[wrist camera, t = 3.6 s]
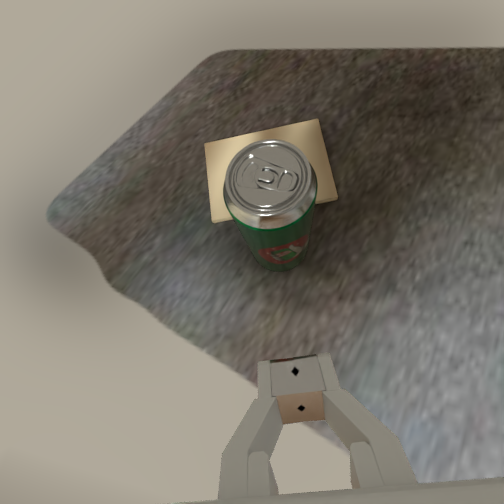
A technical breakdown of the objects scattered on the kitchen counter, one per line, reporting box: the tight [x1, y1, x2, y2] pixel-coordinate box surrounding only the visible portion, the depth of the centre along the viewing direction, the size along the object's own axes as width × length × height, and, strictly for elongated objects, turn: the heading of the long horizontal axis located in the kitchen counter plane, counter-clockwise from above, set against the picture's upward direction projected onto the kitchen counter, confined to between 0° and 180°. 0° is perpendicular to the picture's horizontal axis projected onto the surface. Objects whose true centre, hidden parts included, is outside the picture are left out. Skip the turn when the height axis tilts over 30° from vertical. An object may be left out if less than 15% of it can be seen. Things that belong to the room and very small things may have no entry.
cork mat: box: [205, 119, 338, 223], centre depth 26 cm, size 12×9×1 cm
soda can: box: [223, 139, 318, 272], centre depth 19 cm, size 5×5×12 cm
